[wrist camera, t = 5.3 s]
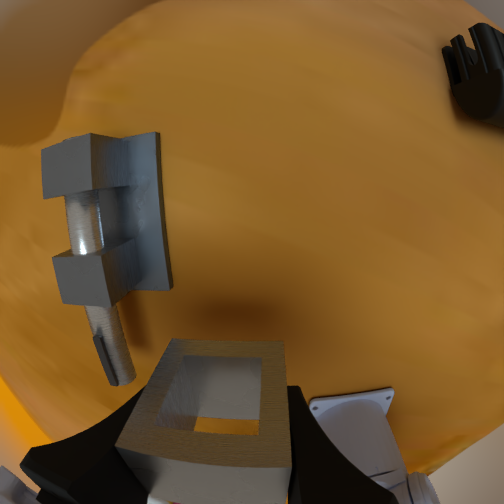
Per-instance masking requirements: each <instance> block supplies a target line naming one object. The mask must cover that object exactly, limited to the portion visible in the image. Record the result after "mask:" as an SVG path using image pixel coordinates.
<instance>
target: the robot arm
mask: <svg viewBox="0 0 504 504" xmlns="http://www.w3.org/2000/svg"><path fill="white" fill-rule="evenodd" d="M145 387H146V386H145ZM145 387H143V388H142V389H141V390H140V391H139V392H138V393H137V394H136V395H134V396H133V397H132V398H131V399H130V400H129V401H127V402H126V403H125V404H124V405H123V406H121V407H120V408H119V409H118V410H116V411H115V412H114V413H112V414H111V415H110V416H108V417H107V418H105V419H104V420H102V421H101V422H99V423H97V424H96V425H94V426H92V427H91V428H89V429H87V430H85V431H83V432H80V433H78V434H76V435H74V436H72V437H69V438H67V439H64V440H61V441H58V442H55V443H51V444H47V445H42V446H37V447H32V448H31V449H30V450H29V452H28V453H27V454H26V456H25V457H24V459H23V460H22V462H21V463H20V468H21V469H22V471H23V472H24V473H25V474H26V475H27V476H28V477H29V478H30V479H31V480H32V481H33V482H34V483H35V484H37V485H38V486H39V487H40V488H41V490H40V492H39V493H36V492H35V491H33V490H32V489H30V488H29V487H27V486H26V485H25V484H24V483H23V482H22V481H21V480H20V479H19V478H18V477H16V476H15V475H14V474H13V473H12V472H10V471H9V470H8V469H6V468H5V467H4V466H1V467H0V504H147V502H148V496H149V493H148V492H147V490H146V489H145V488H144V487H143V485H142V484H141V483H140V481H139V480H138V479H137V478H136V476H135V475H134V473H133V472H132V471H131V469H130V468H129V467H128V465H127V464H126V462H125V461H124V459H123V458H122V456H121V455H120V453H119V452H118V450H117V449H116V447H115V444H116V442H117V440H118V438H119V436H120V434H121V432H122V430H123V428H124V426H125V424H126V423H127V421H128V419H129V417H130V415H131V413H132V411H133V409H134V407H135V405H136V404H137V402H138V400H139V398H140V396H141V394H142V392H143V390H144V389H145ZM393 395H394V390H393V388H388V389H383V390H377V391H371V392H365V393H358V394H351V395H344V396H335V397H326V398H316V399H312V400H311V401H310V404H309V407H308V405H307V403H306V401H305V399H304V396H303V394H302V391H301V389H300V387H299V386H287V396H288V410H289V425H290V441H291V459H292V470H291V475H290V481H289V487H288V504H440V502H439V499H438V497H437V494H436V492H435V490H434V488H433V486H432V484H431V482H430V480H429V479H428V477H427V475H426V474H424V473H419V472H413V473H412V474H409V473H408V472H407V470H406V467H405V464H404V461H403V459H402V456H401V453H400V451H399V448H398V446H397V443H396V441H395V438H394V436H393V433H392V431H391V428H390V426H389V423H388V421H387V418H386V414H387V411H388V409H389V406H390V404H391V401H392V398H393Z"/></svg>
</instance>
